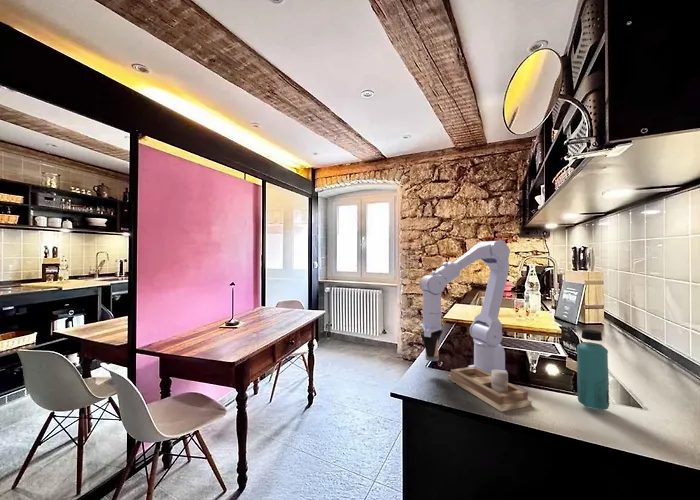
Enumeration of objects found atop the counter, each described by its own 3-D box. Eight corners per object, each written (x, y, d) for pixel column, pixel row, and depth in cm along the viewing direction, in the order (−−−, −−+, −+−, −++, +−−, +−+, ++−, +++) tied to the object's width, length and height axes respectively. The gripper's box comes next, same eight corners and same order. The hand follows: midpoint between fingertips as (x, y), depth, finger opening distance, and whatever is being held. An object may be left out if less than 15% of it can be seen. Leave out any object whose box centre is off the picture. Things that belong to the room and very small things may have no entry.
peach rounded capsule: (433, 356, 102) (433, 335, 102) (440, 360, 98) (440, 338, 98) (423, 357, 101) (423, 336, 101) (430, 361, 97) (430, 339, 97)
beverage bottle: (612, 419, 73) (611, 335, 73) (577, 411, 76) (577, 331, 77) (607, 407, 78) (606, 329, 79) (575, 401, 82) (574, 326, 82)
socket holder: (474, 375, 99) (474, 353, 99) (531, 405, 79) (531, 377, 80) (448, 379, 96) (448, 356, 96) (501, 411, 76) (501, 382, 76)
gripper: (424, 307, 108) (424, 346, 108) (414, 314, 95) (414, 358, 95) (445, 309, 105) (445, 349, 105) (437, 317, 92) (437, 362, 91)
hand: (431, 354), depth 99 cm, fingers closed on peach rounded capsule, 4 cm apart
